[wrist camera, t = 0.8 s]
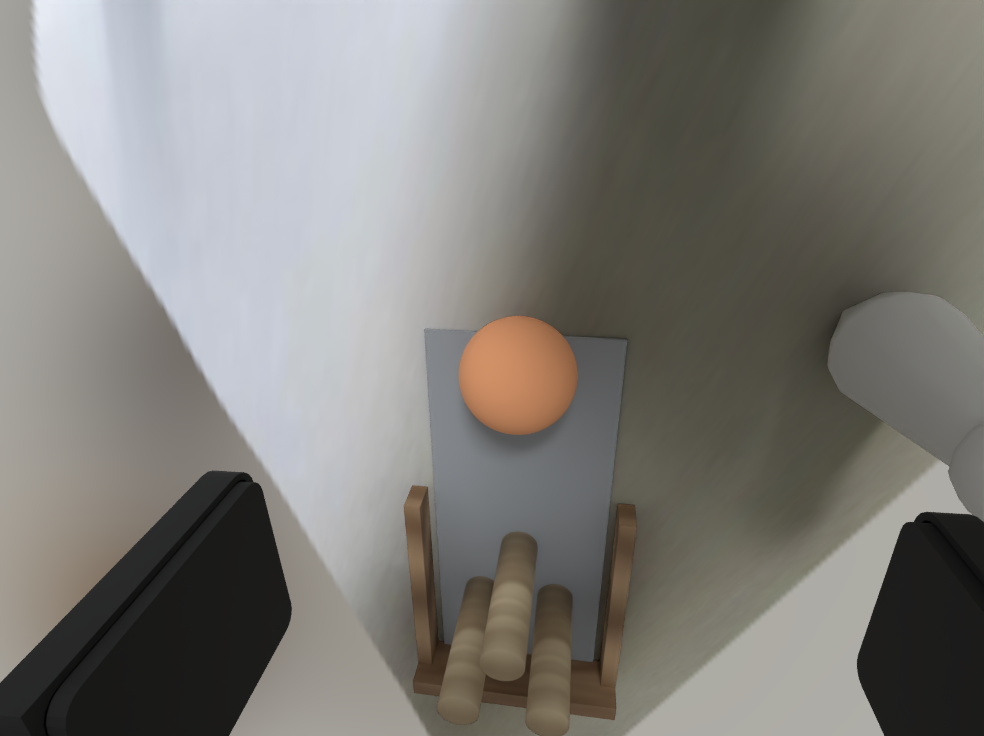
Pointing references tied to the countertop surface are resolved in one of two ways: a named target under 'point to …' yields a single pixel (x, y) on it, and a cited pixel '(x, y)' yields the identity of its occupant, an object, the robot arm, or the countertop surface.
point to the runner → (526, 483)
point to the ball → (518, 375)
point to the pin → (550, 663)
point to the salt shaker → (919, 378)
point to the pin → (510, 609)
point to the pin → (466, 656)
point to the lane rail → (587, 681)
